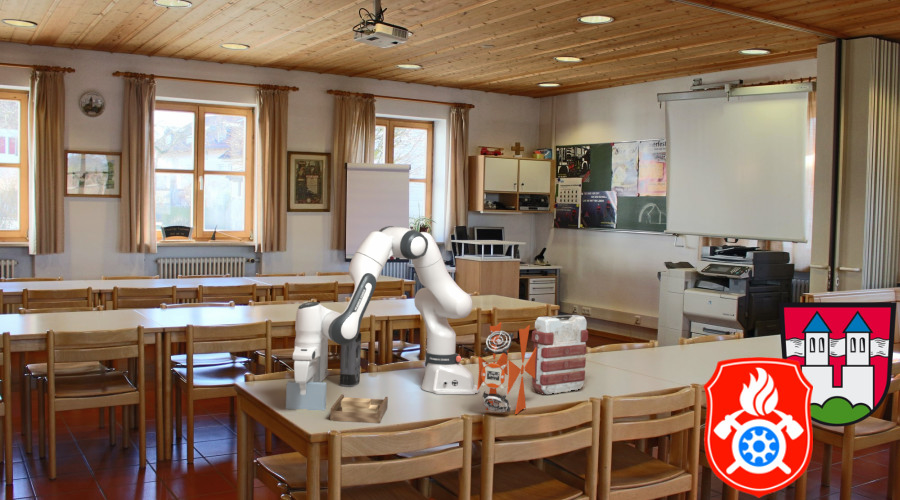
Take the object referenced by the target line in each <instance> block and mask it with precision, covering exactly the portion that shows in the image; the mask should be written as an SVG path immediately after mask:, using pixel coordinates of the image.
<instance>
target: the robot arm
mask: <svg viewBox="0 0 900 500" xmlns="http://www.w3.org/2000/svg"><path fill="white" fill-rule="evenodd" d="M390 257H393V258H397V259H398V258H399V259H406V260H411V261H412V264H413V267H414V270H415V272H416V276H417V278H418V280H419V282H420V284H421V285H422V286H423V287H422V288H419V289H418V291H416V292H415V293H416V294H415V296H414V306H415V308H416V310H417V311H418V312H419V314H420V315H421V317H422V320H423V322H424V324H425V329H426V351H425V355H424V366H425V368H424V374H423V375H424V376H423V380H422V384H421V386H420V389H422V390H423V391H426V392H429V393H433V394H436V395H476V394H475V393H477V394H479V393H480V388H479V389H478V391H477V386H478V384H475V379H474V375H473V373H472V372H471V371H470V370H469V369H468V368H467V367H465V366H464V365H463V364H462V363H461V361H462V357H461V355H460V354H459V353H457V352H456V344H457V343H456V341H457V334H456V332H455V330H454V328H453V327H451V325H450V323H449V321H448V319H454V320H456V319H464V318H467V317H469V315H470V314H471V312H472V310H473V300H472V297H471V295H470V294H468V293H467V292H466V291H464V290H463V289H462V288H461V287H460V286H459V285H458V283H456V281H455V280H454V279H453V278H452V276H451V275H450V273H449V271H448V270H447V266H446V264H445V261H444V259H443V257H442V253H441V251H440V249H439V245H438V244H437V243H436V240H435V239H434V237H433V236H432V235H431V234H430V233H429V232H426V231H421V232H420V231H418V230H416V229H411V228H407V227H404V226H402V227H401V226H392V225H388V226H384V227H382V228H381V229H379V230H378V231H377V230H374V231H372V232H370V233H369V234H368V235H367V236H366V237H365V239H364V240H363V241H362V242H361V243H360V245H359V247H358V248H357V250H356V252H355V253H354V255H353V256H352V258H351V261H350V262H349V266H348V274H349V277H350V279H351V280H352V281H353V283H354V289H353V293H352V295H351V297H350V300H349V301H348V303H347V306H346V307H345V310H344V311H343V312H339V311H336V310H332V309H329V308H327V307H325V306H323V305H322V304H321V303H320V302H317V301H310V302H309V301H308V302H304V303H302V304H300V305H298V306H297V310H296V314H295V323H294V324H295V326H294V328H295V339H294V347H293V349H294V350H293V352H292V361H293V360H294V361H293V373H294V375H293V376H294V381H295V382H296V383H299V386H300V394H301V395H305V394H306V393H307V389H306V384H307V382H313V380H314V375H315V374H316V373H317V372H318V357H319V356H321V340H322V338H327V339H328V341H333V342H334V343H335V344H337V345H338V346H339V345H340V346H341V345H348V344H350V343H352V342H353V341H354V340H355V339H356V338H357V336H358V334H359V332H360V330H361V324H362V321H363V318H364V315H365V313H366V311H367V309H368V306H369V304H370V302H371V299H372V297H373V295H374V292H375V290H376V287H377V281H378V278H379V276H380V274H381V273H382V271H383V269H384V267H385V265H386V263H387V261H388V260H389V259H390Z"/></svg>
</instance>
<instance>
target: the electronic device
mask: <svg viewBox="0 0 900 500" xmlns="http://www.w3.org/2000/svg"><path fill="white" fill-rule="evenodd" d="M361 347H362V333H361V332H360V331H359V334H358V336H357V338H356V339H355V340H354V341H353V342H352V343H350V344H348V345H340V363H339V367H340V368H339V386H340V387H346V388H347V387H348V388H353V387H355V386H357V385H359V383H360V382H361V381H360V379H361V378H360V377H361V375H360V374H361V354H362V352H361V351H362V350H361V349H362V348H361Z"/></svg>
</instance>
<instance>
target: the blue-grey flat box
mask: <svg viewBox="0 0 900 500" xmlns="http://www.w3.org/2000/svg"><path fill="white" fill-rule="evenodd" d="M327 384H328V382H323V381H322V382H307V384H306V389H307V393H306V394H305V395H301V394H300V386H299V383H296V382H295V380H288V381H287V382H286V391H285V394H286V396H285V409H286V410H298V409H307V410H306V411H317V410H319V411H318V412H323V411H324V412H325V410H326V409H327V389H328V388H327V387H328V386H327ZM320 410H321V411H320Z"/></svg>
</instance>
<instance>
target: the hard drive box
mask: <svg viewBox="0 0 900 500" xmlns="http://www.w3.org/2000/svg"><path fill="white" fill-rule="evenodd" d="M328 342H329V339H327V338H322V340H321V356H319V357H318V372H317V373H316V374H315V375H314V380H313V382H323V381H324V380H325V379H326V378H327V376H328V359H329V357H328V352H329V351H328V349H329V348H328V347H329V346H328V345H329V343H328Z"/></svg>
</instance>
